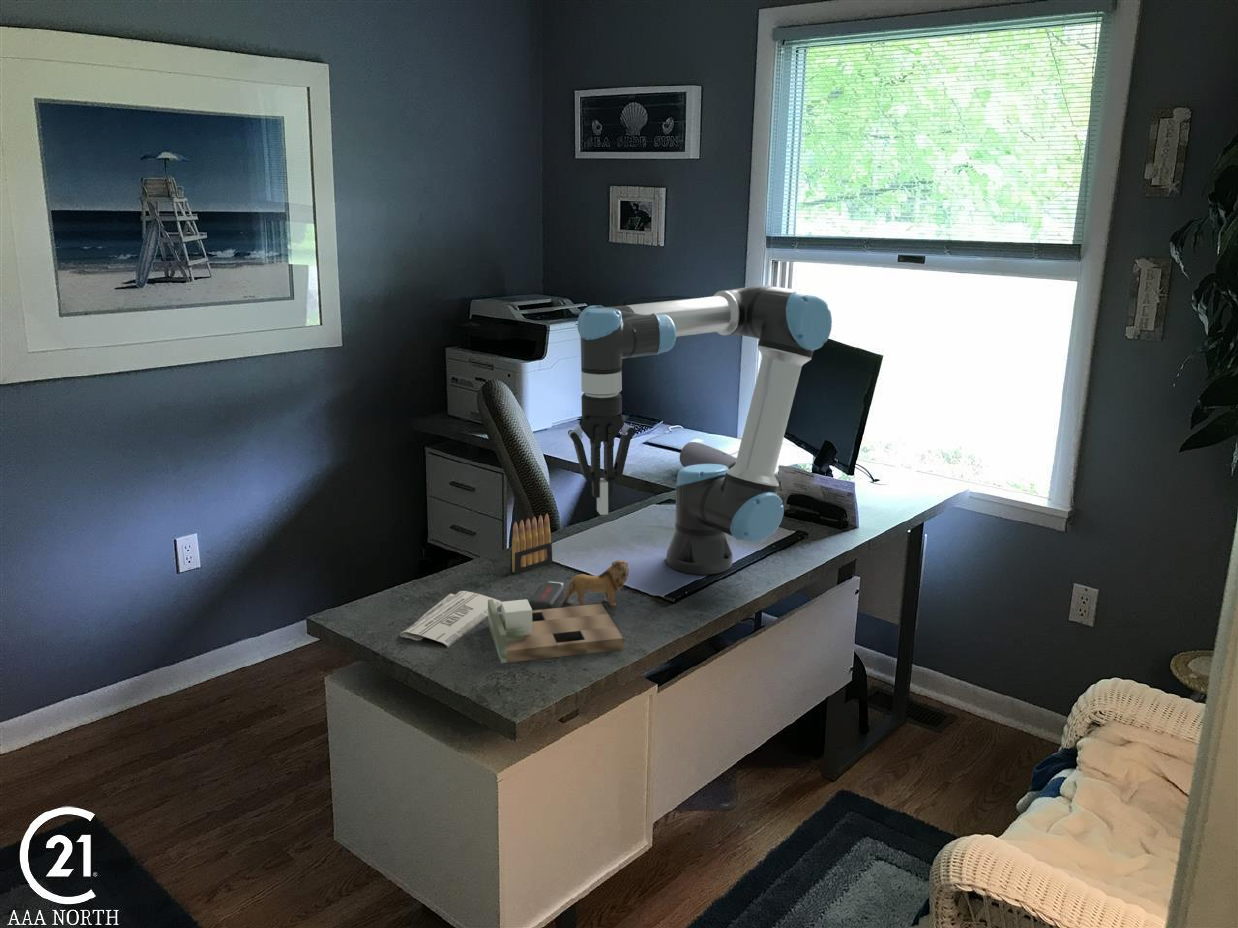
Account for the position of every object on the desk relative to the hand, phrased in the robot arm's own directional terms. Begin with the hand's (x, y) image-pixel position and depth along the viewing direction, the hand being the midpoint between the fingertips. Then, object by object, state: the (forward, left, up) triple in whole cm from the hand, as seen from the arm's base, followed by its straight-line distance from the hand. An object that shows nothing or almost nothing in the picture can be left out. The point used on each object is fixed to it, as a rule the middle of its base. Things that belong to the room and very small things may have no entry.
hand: (602, 512), depth 195 cm
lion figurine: (-2, -9, -24) cm, 25 cm away
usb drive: (+8, -13, -24) cm, 28 cm away
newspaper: (+29, -8, -24) cm, 39 cm away
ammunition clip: (+8, -32, -24) cm, 40 cm away
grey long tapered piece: (-55, -84, -24) cm, 103 cm away
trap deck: (+11, +4, -23) cm, 26 cm away
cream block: (+18, +4, -21) cm, 28 cm away
